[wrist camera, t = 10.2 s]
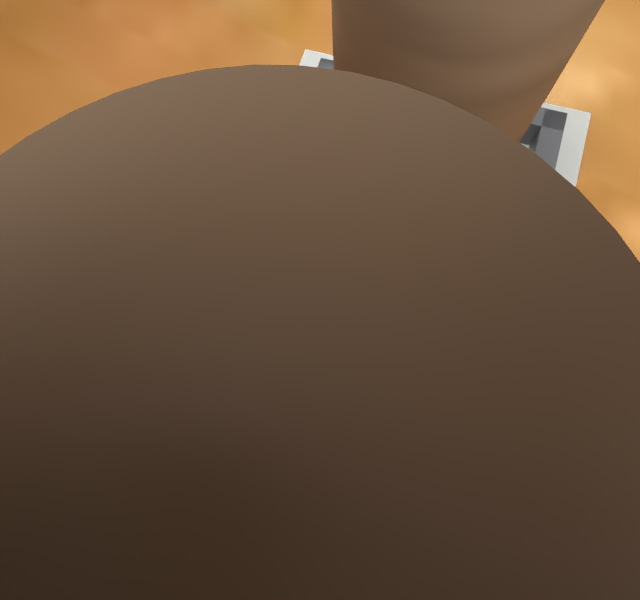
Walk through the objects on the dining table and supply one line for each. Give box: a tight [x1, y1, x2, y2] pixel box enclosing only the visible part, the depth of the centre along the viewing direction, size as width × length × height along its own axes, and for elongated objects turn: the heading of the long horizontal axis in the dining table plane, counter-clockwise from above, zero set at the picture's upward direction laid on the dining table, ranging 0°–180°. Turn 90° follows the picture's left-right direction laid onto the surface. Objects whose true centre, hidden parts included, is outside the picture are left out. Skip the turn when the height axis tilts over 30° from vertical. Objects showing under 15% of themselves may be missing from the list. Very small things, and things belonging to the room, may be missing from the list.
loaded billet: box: [332, 0, 605, 143], centre depth 11 cm, size 5×5×14 cm
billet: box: [0, 65, 640, 600], centre depth 9 cm, size 5×5×14 cm
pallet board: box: [299, 49, 591, 187], centre depth 17 cm, size 21×12×2 cm, turn 162°
